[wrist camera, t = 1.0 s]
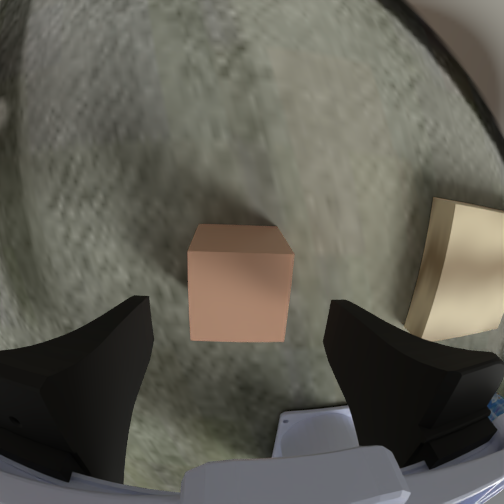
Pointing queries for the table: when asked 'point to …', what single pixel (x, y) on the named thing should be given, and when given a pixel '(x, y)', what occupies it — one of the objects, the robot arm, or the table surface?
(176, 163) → the table surface
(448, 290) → the base
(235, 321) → the block
